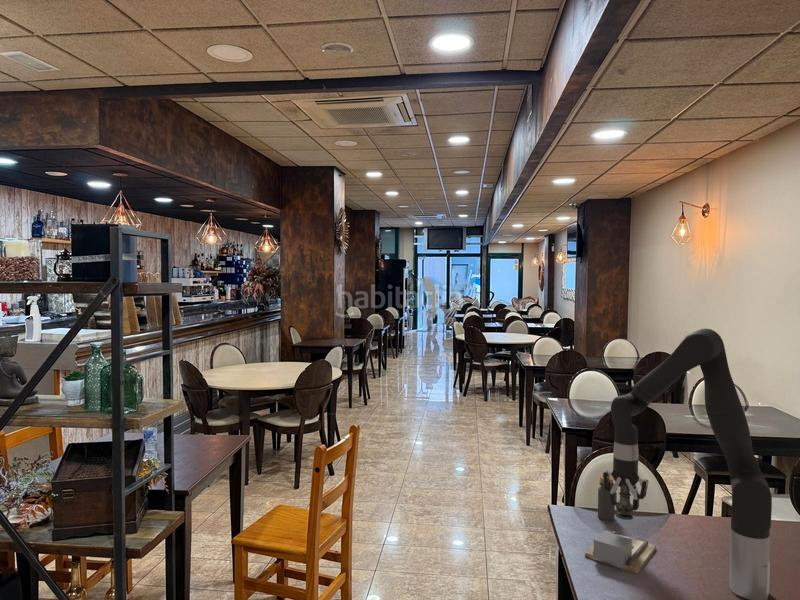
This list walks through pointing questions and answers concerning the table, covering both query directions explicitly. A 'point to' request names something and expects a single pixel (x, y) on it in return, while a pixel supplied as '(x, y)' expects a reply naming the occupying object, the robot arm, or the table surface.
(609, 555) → the cover
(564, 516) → the table surface
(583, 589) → the table surface
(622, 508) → the salt shaker
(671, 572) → the table surface
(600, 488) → the bottle
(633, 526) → the table surface
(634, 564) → the board
